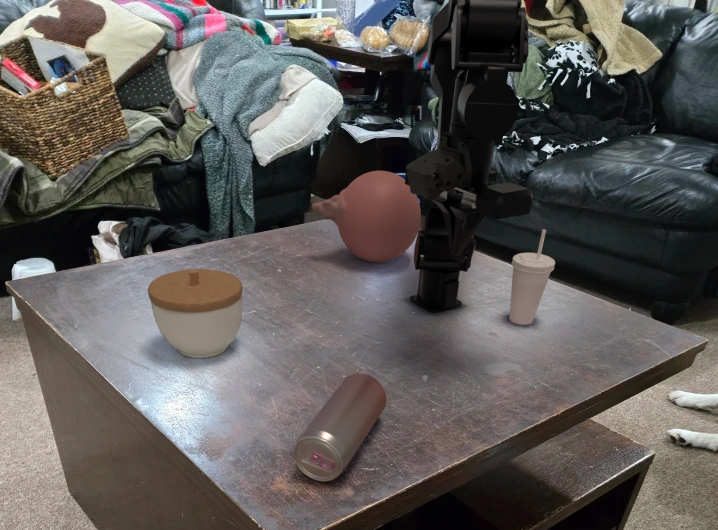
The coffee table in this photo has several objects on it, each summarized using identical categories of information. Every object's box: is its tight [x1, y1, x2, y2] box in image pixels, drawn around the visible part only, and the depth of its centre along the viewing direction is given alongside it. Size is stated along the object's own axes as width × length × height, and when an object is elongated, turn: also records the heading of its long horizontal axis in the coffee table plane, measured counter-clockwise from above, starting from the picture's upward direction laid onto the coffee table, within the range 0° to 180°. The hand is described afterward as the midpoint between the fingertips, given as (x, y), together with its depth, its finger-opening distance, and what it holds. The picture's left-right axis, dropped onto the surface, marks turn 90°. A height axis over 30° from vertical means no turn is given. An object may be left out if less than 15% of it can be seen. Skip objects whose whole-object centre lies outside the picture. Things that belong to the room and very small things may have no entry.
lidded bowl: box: [147, 268, 243, 359], centre depth 89 cm, size 13×13×11 cm
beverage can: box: [293, 373, 387, 483], centre depth 72 cm, size 6×6×15 cm
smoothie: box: [508, 228, 556, 326], centre depth 98 cm, size 6×6×14 cm
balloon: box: [311, 170, 422, 263], centre depth 117 cm, size 15×20×15 cm
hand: (455, 254), depth 88 cm, fingers closed
